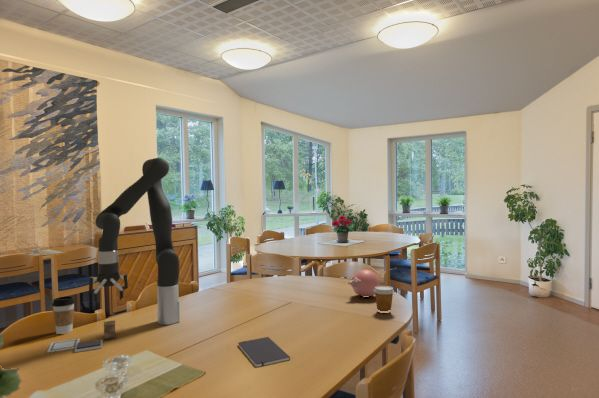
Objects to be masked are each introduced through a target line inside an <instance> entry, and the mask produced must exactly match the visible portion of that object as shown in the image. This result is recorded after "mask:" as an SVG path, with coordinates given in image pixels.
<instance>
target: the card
mask: <svg viewBox="0 0 599 398" xmlns="http://www.w3.org/2000/svg"><path fill="white" fill-rule="evenodd" d="M79 341H80V342H81V338H73V339H69V340H60V341H54V342H50V344H49V347H48V348H47V351H46V354H49V352H50V353H54V352H55V351H56V352H60V351H68V349H69V350H73V349H74V350H75V347H76V344H78V343H80V342H79Z"/></svg>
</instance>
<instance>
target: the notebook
mask: <svg viewBox="0 0 599 398" xmlns="http://www.w3.org/2000/svg"><path fill="white" fill-rule="evenodd" d="M237 344H238V347H239V348H240V349H241V351H242V352H243V353H244V354H245V355H246V357H247V358H248V359H249V360H250V362H252V364H253V365H254V366H255V367H264V366H267V365H272V364H276V363H281V362H285V361H291V356H290V355H289V354H287V352H285V351H284V350H283V349H282V348H281V347H280V346H279V345H278V344H276V342H274V341H273V339H272V338H270V337H269V336H264V337H260V338H255V339H250V340H245V341H239V342H238V343H237Z"/></svg>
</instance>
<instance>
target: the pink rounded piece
mask: <svg viewBox="0 0 599 398" xmlns="http://www.w3.org/2000/svg"><path fill="white" fill-rule="evenodd" d="M347 285H350V286H351V287H352V290H353V292H354V293H355V294H356V295H357V294H358V295H357V296H359V295H361V296H372V295H374V296H375V291H374V289H375V287H376V286H381V285H380V279H379V277H378V275H377V274H376V273H375V272H374V271H373V270H370V269H360V270H359V271H357V272H356V273H354V275H353V277H352V279H351V281H348V283H347ZM372 297H373V296H372Z"/></svg>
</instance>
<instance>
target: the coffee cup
mask: <svg viewBox="0 0 599 398" xmlns="http://www.w3.org/2000/svg"><path fill="white" fill-rule="evenodd" d="M75 303H76V301H75V298H74V296H71V295H70V296H68V295H67V296H59V297H55V298H53V302H52V303H51V305H52V307H53V310H52V311H53V313H52V314H53V319H54V326H55V333H56V335H57V334H64V335H66V334H65V333H68V334H70V333H69V332H71V331H72V332H73V326H74V325H73V324H74V313H75ZM72 332H71V333H72Z"/></svg>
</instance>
